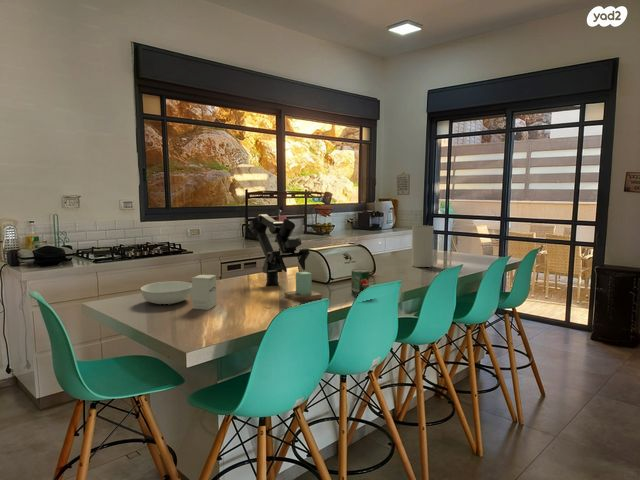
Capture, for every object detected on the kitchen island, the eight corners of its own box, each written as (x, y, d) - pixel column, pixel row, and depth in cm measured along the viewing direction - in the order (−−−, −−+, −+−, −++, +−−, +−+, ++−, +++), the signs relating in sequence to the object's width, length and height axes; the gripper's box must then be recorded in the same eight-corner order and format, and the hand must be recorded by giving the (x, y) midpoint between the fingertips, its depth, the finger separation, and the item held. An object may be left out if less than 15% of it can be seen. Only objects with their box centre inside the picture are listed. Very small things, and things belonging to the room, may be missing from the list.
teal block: (295, 292, 196) (295, 272, 195) (305, 291, 199) (305, 271, 198) (301, 295, 192) (301, 274, 191) (311, 293, 195) (311, 273, 194)
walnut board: (284, 297, 198) (284, 292, 198) (308, 294, 204) (308, 289, 204) (297, 303, 188) (297, 297, 187) (321, 299, 194) (321, 294, 194)
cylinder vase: (431, 268, 269) (432, 227, 267) (410, 267, 274) (410, 226, 271) (433, 265, 281) (434, 225, 278) (413, 264, 285) (414, 225, 283)
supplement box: (209, 309, 175) (208, 278, 174) (191, 309, 177) (190, 277, 176) (217, 305, 183) (216, 274, 181) (200, 304, 184) (199, 274, 183)
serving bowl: (129, 305, 182) (129, 289, 182) (165, 294, 202) (164, 279, 201) (171, 310, 175) (170, 293, 174) (203, 298, 194) (203, 283, 193)
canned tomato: (352, 292, 206) (352, 268, 205) (369, 292, 205) (369, 269, 204) (350, 295, 199) (350, 271, 198) (368, 296, 197) (368, 272, 196)
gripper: (271, 233, 199) (282, 261, 190) (307, 231, 208) (319, 258, 200) (264, 249, 206) (274, 276, 198) (299, 246, 216) (311, 272, 208)
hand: (295, 270), depth 201 cm, fingers open, 9 cm apart
